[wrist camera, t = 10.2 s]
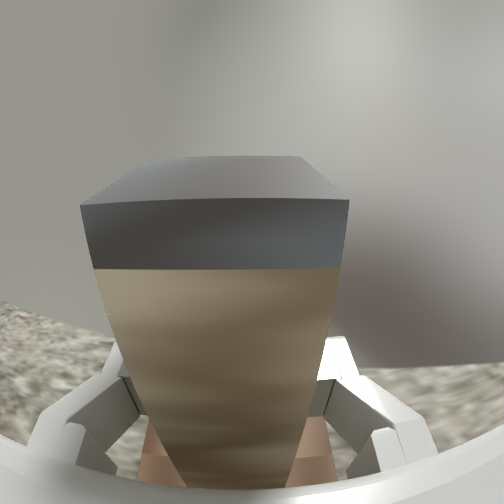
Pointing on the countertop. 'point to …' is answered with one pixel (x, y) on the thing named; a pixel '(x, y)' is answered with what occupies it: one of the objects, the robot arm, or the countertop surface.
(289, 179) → the peg
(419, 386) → the countertop surface
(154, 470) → the socket block
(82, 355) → the countertop surface
